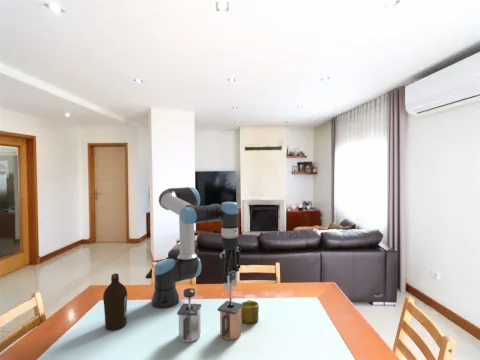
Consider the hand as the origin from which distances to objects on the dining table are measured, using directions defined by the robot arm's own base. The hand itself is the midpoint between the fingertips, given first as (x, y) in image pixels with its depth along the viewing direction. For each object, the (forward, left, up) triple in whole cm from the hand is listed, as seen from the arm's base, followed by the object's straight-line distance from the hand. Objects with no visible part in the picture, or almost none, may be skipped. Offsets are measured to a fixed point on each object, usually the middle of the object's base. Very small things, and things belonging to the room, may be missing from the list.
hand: (230, 287), depth 131 cm
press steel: (-13, -13, -22) cm, 29 cm away
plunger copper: (0, 0, -12) cm, 12 cm away
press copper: (0, -1, -22) cm, 22 cm away
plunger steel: (-14, -12, -19) cm, 27 cm away
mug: (-1, +17, -22) cm, 28 cm away
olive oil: (-50, -26, -22) cm, 60 cm away
